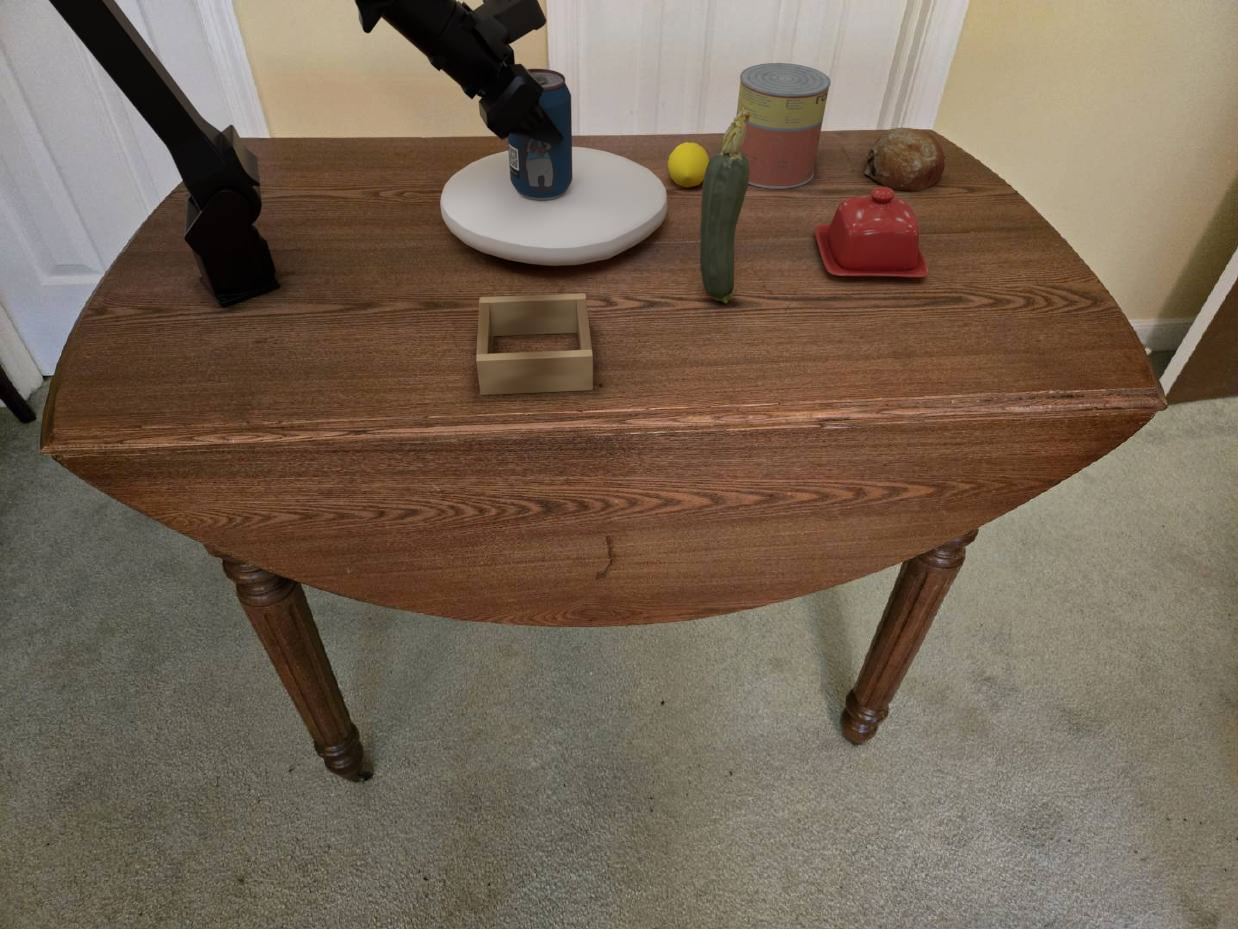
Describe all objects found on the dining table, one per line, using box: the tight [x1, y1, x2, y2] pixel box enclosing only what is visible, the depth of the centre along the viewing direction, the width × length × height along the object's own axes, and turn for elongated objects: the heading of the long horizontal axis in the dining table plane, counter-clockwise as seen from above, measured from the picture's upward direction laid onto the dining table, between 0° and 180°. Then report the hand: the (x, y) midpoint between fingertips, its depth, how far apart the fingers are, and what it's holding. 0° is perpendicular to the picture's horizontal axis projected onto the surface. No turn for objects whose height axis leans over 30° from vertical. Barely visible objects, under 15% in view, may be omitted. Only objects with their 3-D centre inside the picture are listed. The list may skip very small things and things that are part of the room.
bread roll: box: [864, 126, 946, 192], centre depth 109 cm, size 10×10×8 cm
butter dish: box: [813, 186, 929, 278], centre depth 91 cm, size 12×12×8 cm
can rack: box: [475, 292, 594, 396], centre depth 78 cm, size 10×10×4 cm
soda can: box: [507, 68, 573, 200], centre depth 88 cm, size 7×7×12 cm
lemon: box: [667, 141, 710, 189], centre depth 106 cm, size 7×5×5 cm
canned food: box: [736, 62, 832, 190], centre depth 107 cm, size 11×11×12 cm
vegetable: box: [699, 107, 751, 304], centre depth 81 cm, size 4×4×20 cm
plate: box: [439, 146, 668, 267], centre depth 97 cm, size 28×6×27 cm
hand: (551, 128), depth 88 cm, fingers closed on soda can, 7 cm apart
